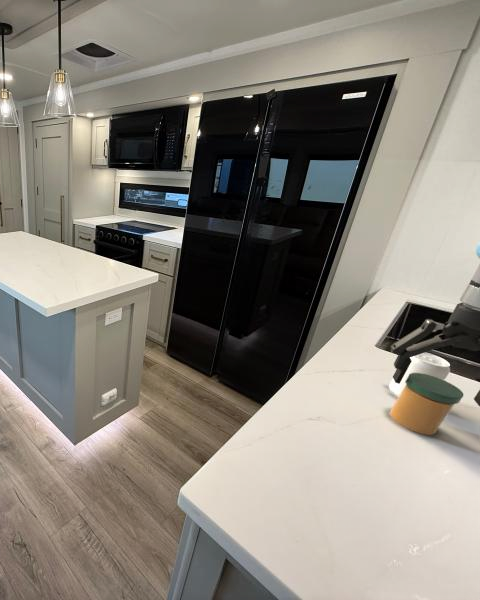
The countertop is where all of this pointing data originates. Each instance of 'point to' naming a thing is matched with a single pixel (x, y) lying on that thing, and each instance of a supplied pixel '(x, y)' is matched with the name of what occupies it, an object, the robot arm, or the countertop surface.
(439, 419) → the jar
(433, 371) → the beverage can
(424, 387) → the jar lid
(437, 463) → the countertop surface
